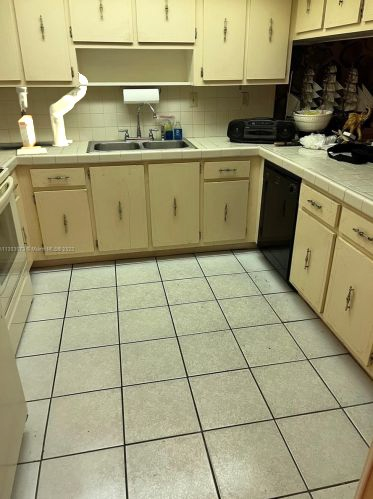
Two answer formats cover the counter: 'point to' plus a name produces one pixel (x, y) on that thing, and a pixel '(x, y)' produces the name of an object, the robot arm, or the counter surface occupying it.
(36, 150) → the mat
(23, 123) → the cracker box
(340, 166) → the counter surface
